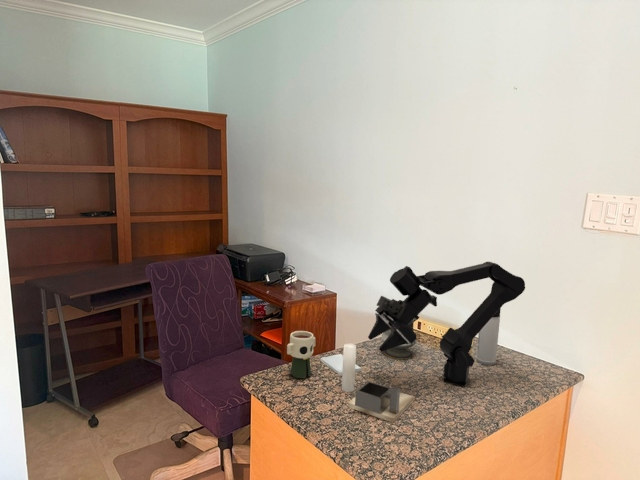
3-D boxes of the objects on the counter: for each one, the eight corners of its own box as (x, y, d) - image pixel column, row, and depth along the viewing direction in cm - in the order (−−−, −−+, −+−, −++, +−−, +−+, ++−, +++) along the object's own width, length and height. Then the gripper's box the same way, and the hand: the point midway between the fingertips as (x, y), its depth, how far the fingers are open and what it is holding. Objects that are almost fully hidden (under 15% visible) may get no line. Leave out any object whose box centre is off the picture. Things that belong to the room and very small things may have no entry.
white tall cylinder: (356, 388, 129) (358, 345, 127) (350, 393, 126) (352, 349, 124) (345, 385, 131) (347, 342, 129) (339, 389, 128) (341, 346, 126)
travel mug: (497, 361, 153) (502, 304, 150) (493, 367, 147) (498, 308, 144) (478, 356, 156) (483, 301, 153) (474, 362, 150) (479, 305, 148)
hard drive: (320, 357, 148) (340, 372, 137) (341, 353, 152) (362, 367, 141) (320, 362, 148) (339, 377, 137) (341, 358, 152) (361, 372, 141)
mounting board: (413, 400, 123) (414, 396, 122) (393, 422, 111) (393, 418, 111) (371, 387, 130) (371, 383, 129) (347, 407, 118) (347, 402, 118)
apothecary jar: (381, 345, 163) (384, 298, 161) (415, 349, 161) (418, 301, 158) (379, 358, 151) (382, 307, 149) (415, 362, 149) (419, 310, 146)
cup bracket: (402, 407, 116) (404, 384, 116) (391, 418, 110) (392, 395, 110) (367, 395, 122) (368, 373, 121) (354, 406, 116) (356, 383, 115)
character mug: (294, 384, 130) (295, 342, 128) (279, 376, 135) (280, 335, 133) (321, 374, 137) (323, 334, 135) (306, 367, 142) (307, 327, 140)
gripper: (383, 279, 136) (347, 316, 135) (408, 295, 118) (367, 337, 117) (405, 304, 139) (370, 339, 138) (433, 323, 121) (393, 364, 120)
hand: (374, 344), depth 128 cm, fingers open, 9 cm apart
